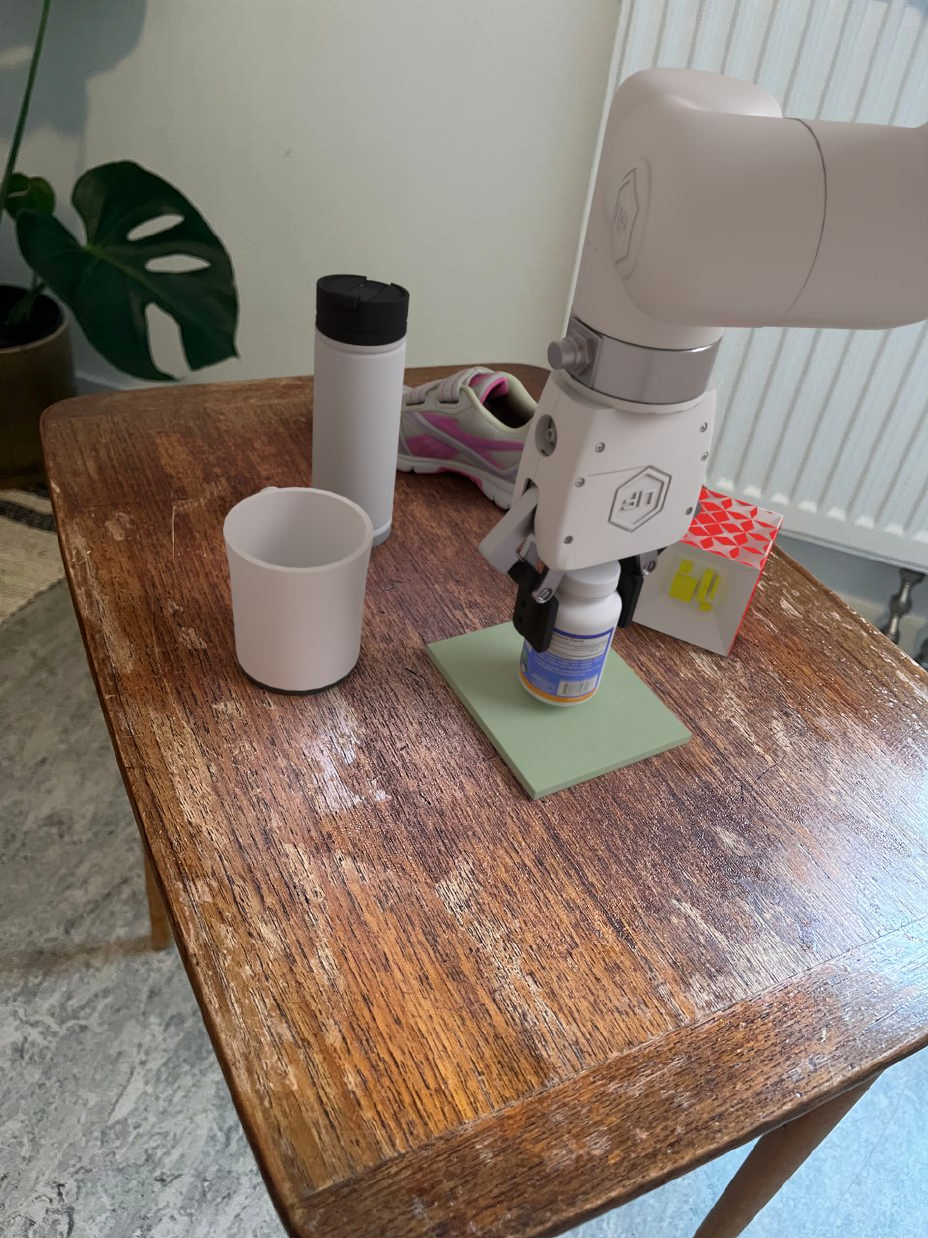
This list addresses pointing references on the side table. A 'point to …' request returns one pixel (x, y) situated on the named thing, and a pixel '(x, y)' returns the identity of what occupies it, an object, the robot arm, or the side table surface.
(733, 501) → the red patterned cube box
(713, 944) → the side table surface
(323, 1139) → the side table surface
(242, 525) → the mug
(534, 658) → the pill bottle
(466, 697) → the mat
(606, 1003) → the side table surface
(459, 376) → the running shoe
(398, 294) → the travel mug
